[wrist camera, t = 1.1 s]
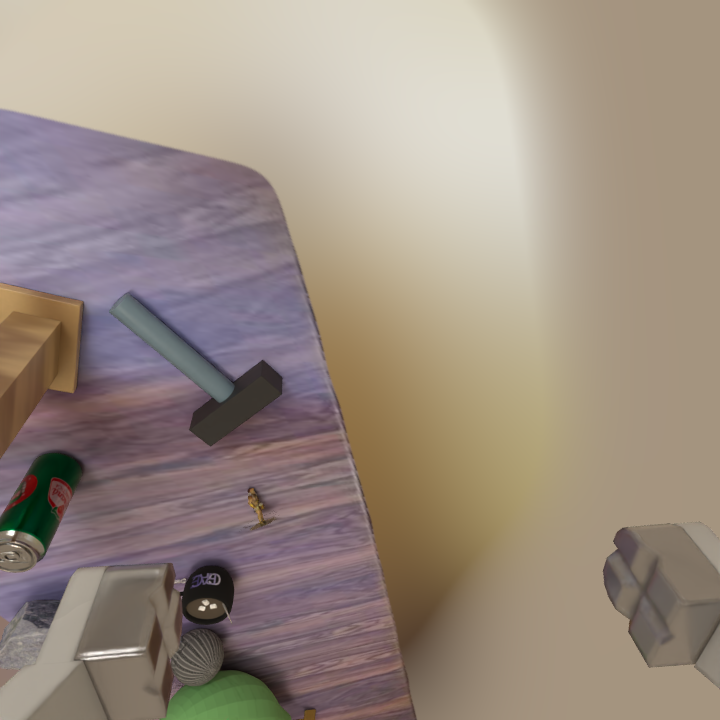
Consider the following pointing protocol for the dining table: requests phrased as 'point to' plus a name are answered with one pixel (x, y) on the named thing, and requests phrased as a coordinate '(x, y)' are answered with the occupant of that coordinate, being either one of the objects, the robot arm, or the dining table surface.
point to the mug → (207, 595)
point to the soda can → (37, 511)
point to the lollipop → (198, 657)
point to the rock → (27, 634)
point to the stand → (34, 352)
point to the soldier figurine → (257, 509)
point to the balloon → (228, 700)
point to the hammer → (203, 375)
